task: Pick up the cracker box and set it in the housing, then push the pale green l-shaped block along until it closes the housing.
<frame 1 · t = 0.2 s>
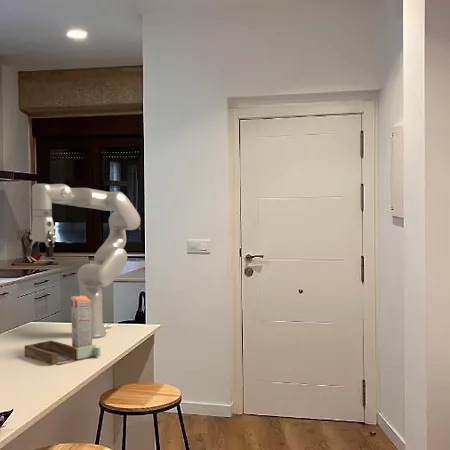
hand: (42, 256, 232), 36 cm above the counter, tool pointing down, fingers open, 9 cm apart
pale green l-shaped block: (88, 352, 211), point 2 cm above the counter, slide at 8.0 cm
housing: (51, 357, 214), on the counter
cracker box: (81, 351, 223), on the counter
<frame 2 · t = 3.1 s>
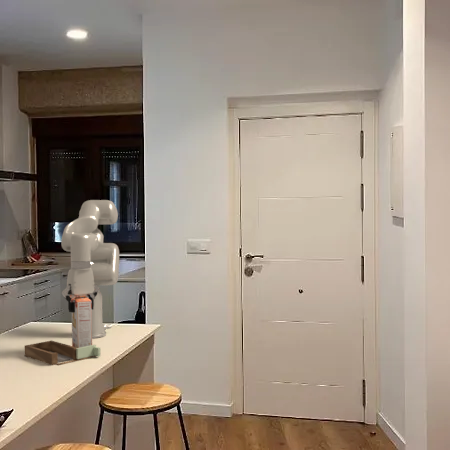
hand: (81, 310, 223), 16 cm above the counter, tool pointing down, fingers closed on cracker box, 7 cm apart
cracker box: (81, 351, 223), on the counter, touching gripper
everything else where it was.
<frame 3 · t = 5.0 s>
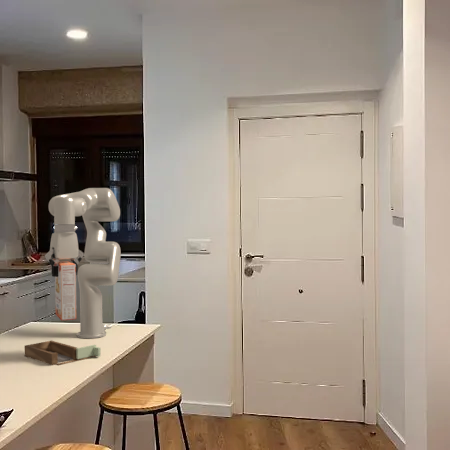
hand: (64, 275, 217), 30 cm above the counter, tool pointing down, fingers closed on cracker box, 7 cm apart
cracker box: (65, 318, 217), point 14 cm above the counter, touching gripper
everything else where it was.
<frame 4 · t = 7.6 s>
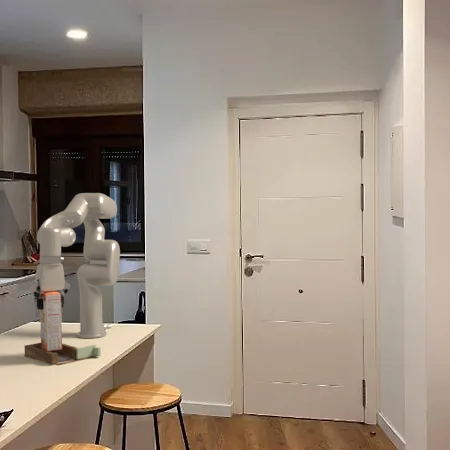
hand: (50, 307, 212), 19 cm above the counter, tool pointing down, fingers closed on cracker box, 7 cm apart
cracker box: (51, 347, 213), point 4 cm above the counter, touching gripper, housing
everything else where it was.
when the fingers open (18 cm above the counter, at t = 8.4 s): cracker box stays where it is, resting on housing.
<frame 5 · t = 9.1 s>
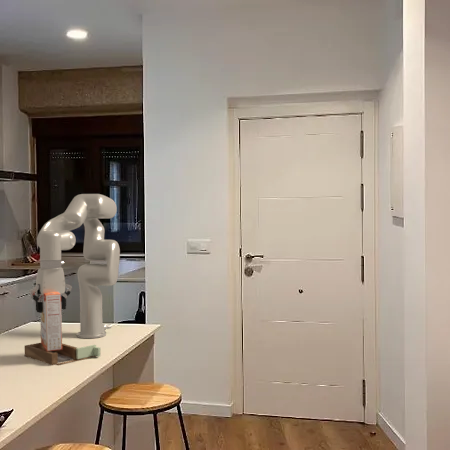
hand: (51, 310, 213), 18 cm above the counter, tool pointing down, fingers open, 9 cm apart
cracker box: (51, 347, 213), point 4 cm above the counter, touching housing
everything else where it was.
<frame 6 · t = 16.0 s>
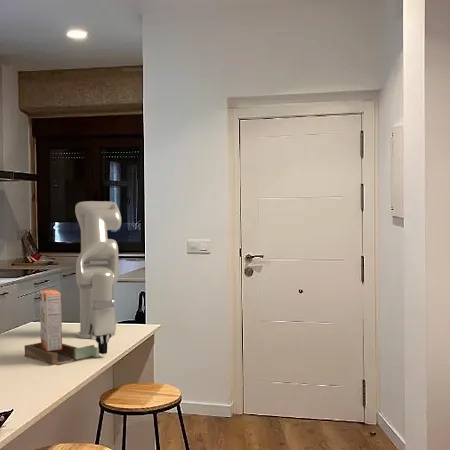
hand: (102, 353, 214), 1 cm above the counter, tool pointing down, fingers closed
pale green l-shaped block: (86, 352, 211), point 2 cm above the counter, slide at 7.3 cm, touching gripper
everything else where it was.
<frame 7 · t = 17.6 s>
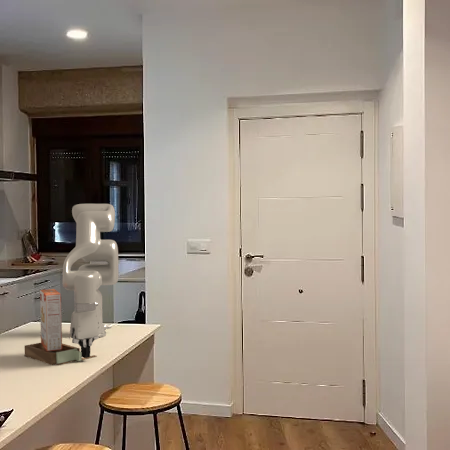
hand: (85, 357, 209), 1 cm above the counter, tool pointing down, fingers closed
pale green l-shaped block: (69, 356, 205), point 2 cm above the counter, slide at -0.2 cm, touching gripper
everything else where it was.
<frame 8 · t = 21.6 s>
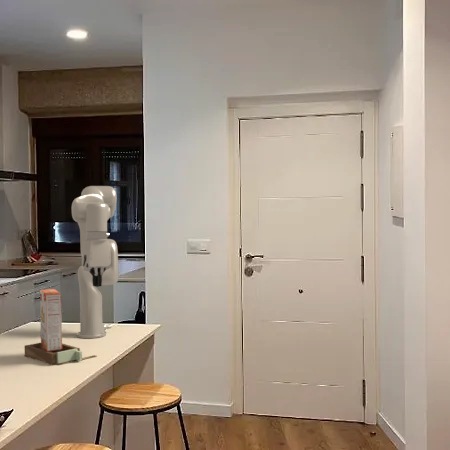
hand: (97, 286, 210), 27 cm above the counter, tool pointing down, fingers closed
pale green l-shaped block: (69, 356, 206), point 2 cm above the counter, slide at 0.0 cm
everything else where it was.
at the end: cracker box 0.3 cm off-centre on the housing, point 3.8 cm above the housing's base; cracker box tilted 0°; pale green l-shaped block slide at 0.0 cm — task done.
